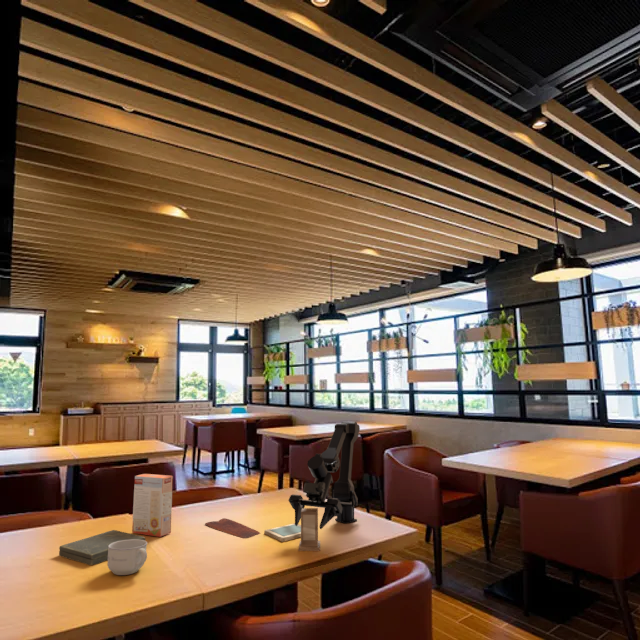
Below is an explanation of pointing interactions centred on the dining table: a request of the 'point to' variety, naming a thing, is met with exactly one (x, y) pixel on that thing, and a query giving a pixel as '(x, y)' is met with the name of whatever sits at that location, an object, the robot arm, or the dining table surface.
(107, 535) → the case
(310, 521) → the stepped wooden pillar
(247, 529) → the wooden tablet
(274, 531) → the teal framed panel
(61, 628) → the dining table surface
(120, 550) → the teacup
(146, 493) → the cracker box
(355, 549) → the dining table surface
